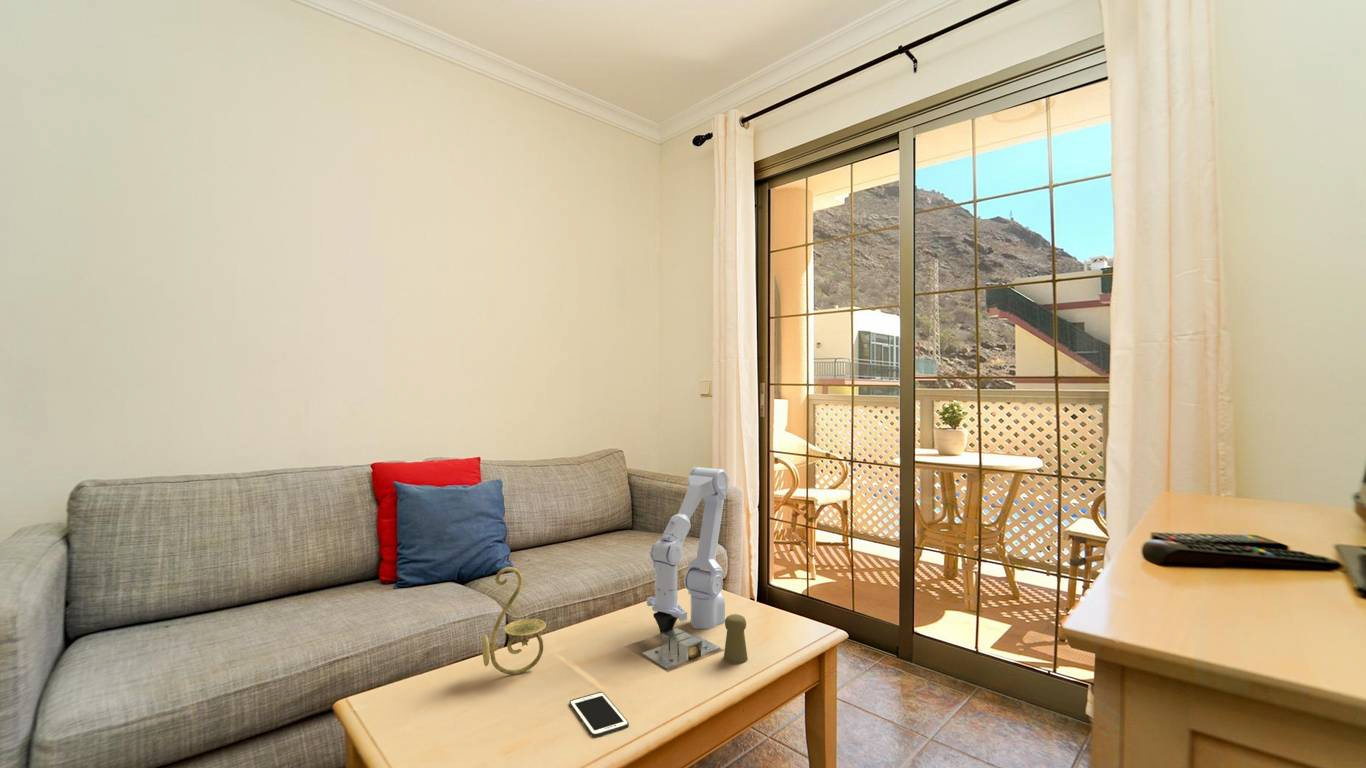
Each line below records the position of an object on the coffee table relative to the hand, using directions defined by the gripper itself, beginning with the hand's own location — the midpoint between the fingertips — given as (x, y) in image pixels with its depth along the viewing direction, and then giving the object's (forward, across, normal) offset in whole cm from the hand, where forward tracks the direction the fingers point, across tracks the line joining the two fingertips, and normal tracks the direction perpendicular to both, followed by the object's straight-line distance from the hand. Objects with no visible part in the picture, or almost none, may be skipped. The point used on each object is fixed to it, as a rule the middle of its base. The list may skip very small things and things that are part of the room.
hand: (666, 640), depth 151 cm
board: (+2, +3, 0) cm, 4 cm away
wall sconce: (+2, -11, -36) cm, 38 cm away
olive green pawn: (+2, +17, +8) cm, 19 cm away
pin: (+1, +6, 0) cm, 6 cm away
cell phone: (+2, +16, -30) cm, 34 cm away
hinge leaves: (+1, +6, 0) cm, 6 cm away
